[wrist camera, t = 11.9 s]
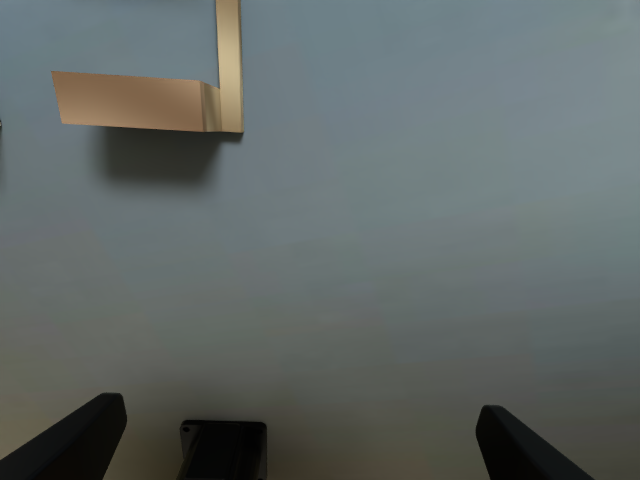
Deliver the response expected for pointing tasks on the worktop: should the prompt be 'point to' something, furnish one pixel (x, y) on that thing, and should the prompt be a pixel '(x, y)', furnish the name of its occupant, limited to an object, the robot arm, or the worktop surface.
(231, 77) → the wooden joined piece
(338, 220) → the worktop surface
